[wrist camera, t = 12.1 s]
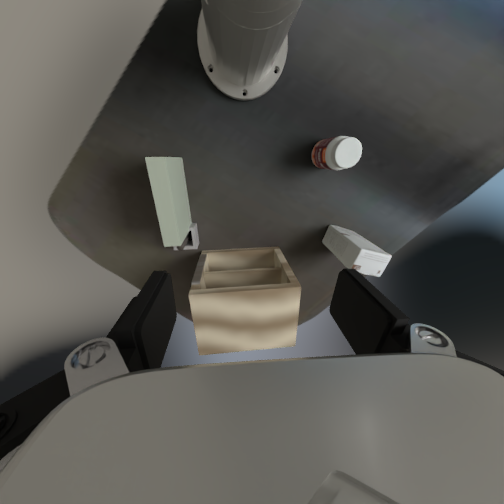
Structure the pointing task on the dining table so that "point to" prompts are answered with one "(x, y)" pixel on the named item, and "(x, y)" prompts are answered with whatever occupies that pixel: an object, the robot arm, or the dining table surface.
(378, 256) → the skincare box
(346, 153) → the pill bottle
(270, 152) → the dining table surface
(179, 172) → the door
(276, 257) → the cabinet
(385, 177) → the dining table surface
